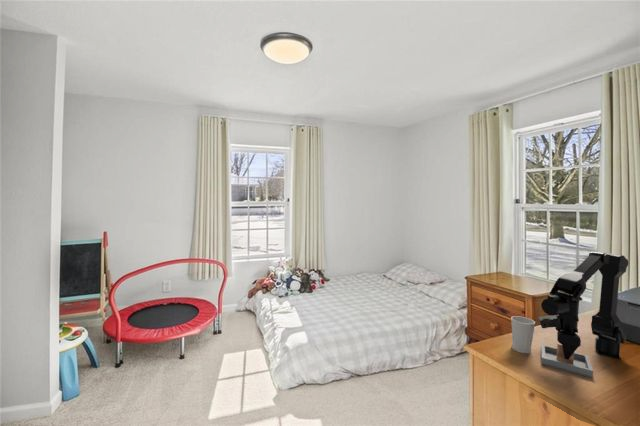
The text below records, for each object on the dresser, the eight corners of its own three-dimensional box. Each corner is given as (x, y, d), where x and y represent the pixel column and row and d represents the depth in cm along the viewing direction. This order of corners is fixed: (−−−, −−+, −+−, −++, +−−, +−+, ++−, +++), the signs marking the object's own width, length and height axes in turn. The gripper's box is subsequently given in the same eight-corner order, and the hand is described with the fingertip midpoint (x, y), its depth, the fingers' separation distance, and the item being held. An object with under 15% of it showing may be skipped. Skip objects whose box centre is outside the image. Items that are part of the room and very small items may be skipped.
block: (571, 360, 113) (572, 347, 113) (573, 366, 109) (574, 352, 109) (556, 356, 115) (557, 344, 115) (557, 361, 112) (558, 348, 111)
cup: (537, 355, 117) (539, 325, 117) (514, 352, 119) (516, 322, 118) (527, 345, 125) (529, 317, 125) (506, 343, 127) (507, 315, 126)
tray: (587, 361, 113) (587, 355, 113) (592, 378, 103) (593, 370, 103) (541, 350, 121) (541, 344, 121) (541, 364, 111) (542, 357, 111)
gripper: (540, 300, 124) (538, 338, 124) (541, 314, 108) (538, 357, 109) (576, 307, 117) (573, 346, 118) (582, 322, 102) (579, 367, 103)
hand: (565, 353), depth 112 cm, fingers open, 9 cm apart
